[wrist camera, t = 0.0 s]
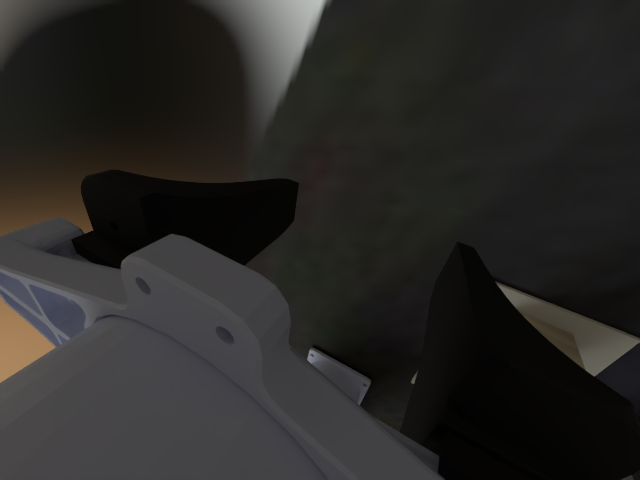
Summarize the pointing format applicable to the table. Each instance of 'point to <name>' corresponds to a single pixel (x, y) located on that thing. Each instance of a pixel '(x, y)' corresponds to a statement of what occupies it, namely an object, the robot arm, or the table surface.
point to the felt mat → (575, 330)
